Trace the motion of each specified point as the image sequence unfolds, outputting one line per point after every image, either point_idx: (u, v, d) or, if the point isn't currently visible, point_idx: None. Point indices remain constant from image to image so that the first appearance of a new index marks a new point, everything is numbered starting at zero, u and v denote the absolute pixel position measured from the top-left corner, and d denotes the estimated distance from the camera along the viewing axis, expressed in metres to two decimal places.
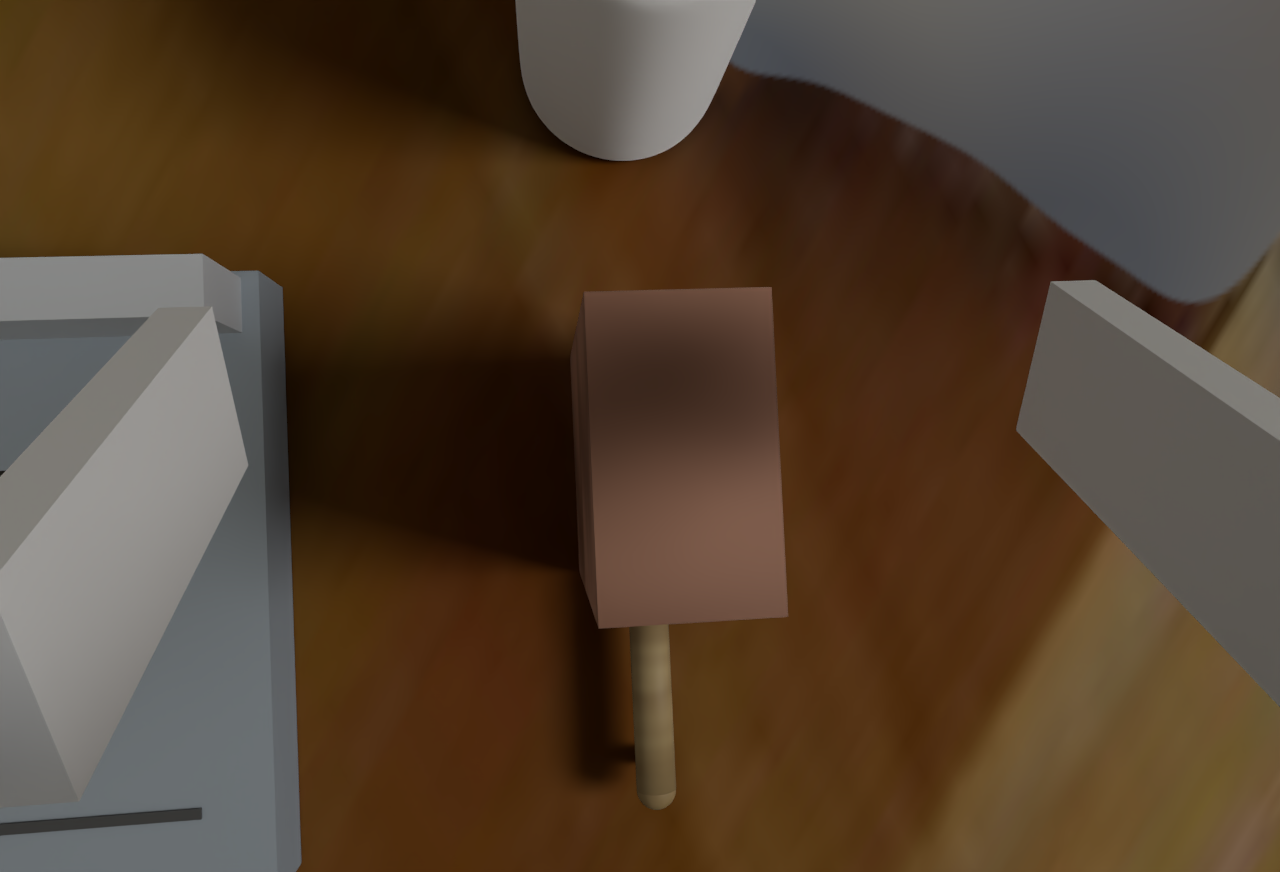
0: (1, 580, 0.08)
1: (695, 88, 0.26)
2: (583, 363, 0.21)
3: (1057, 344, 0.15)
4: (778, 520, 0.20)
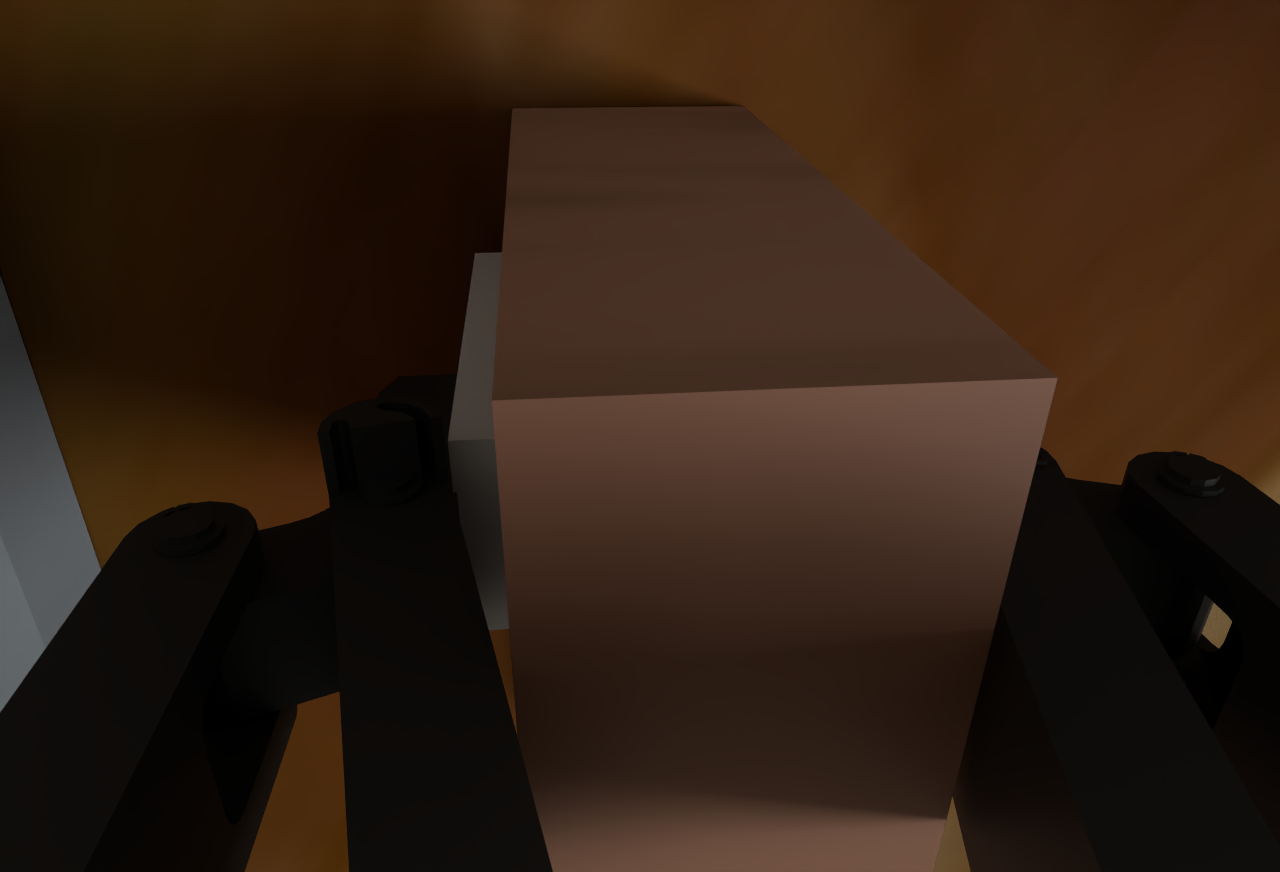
0: None
1: None
2: None
3: None
4: (930, 840, 0.09)
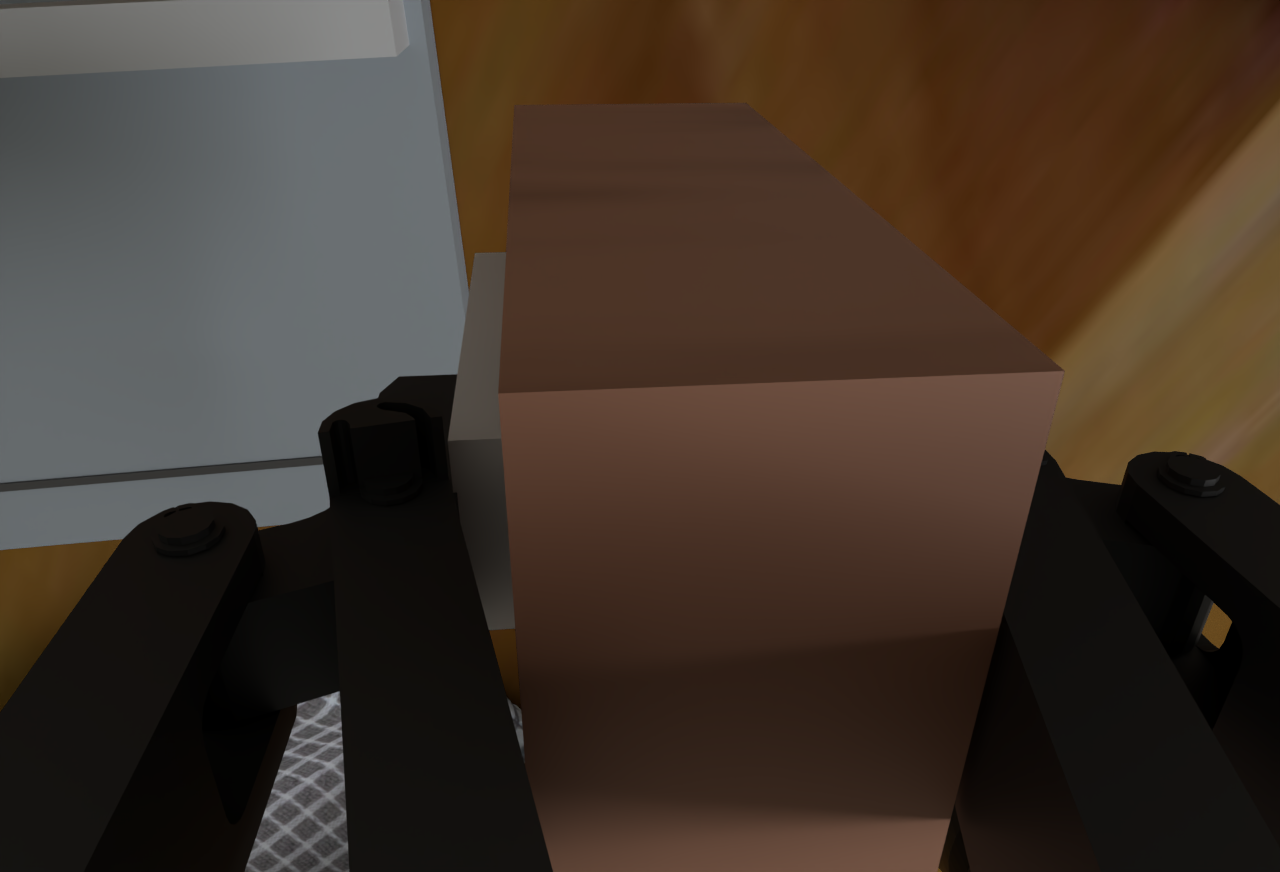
0: None
1: None
2: None
3: None
4: (936, 836, 0.09)
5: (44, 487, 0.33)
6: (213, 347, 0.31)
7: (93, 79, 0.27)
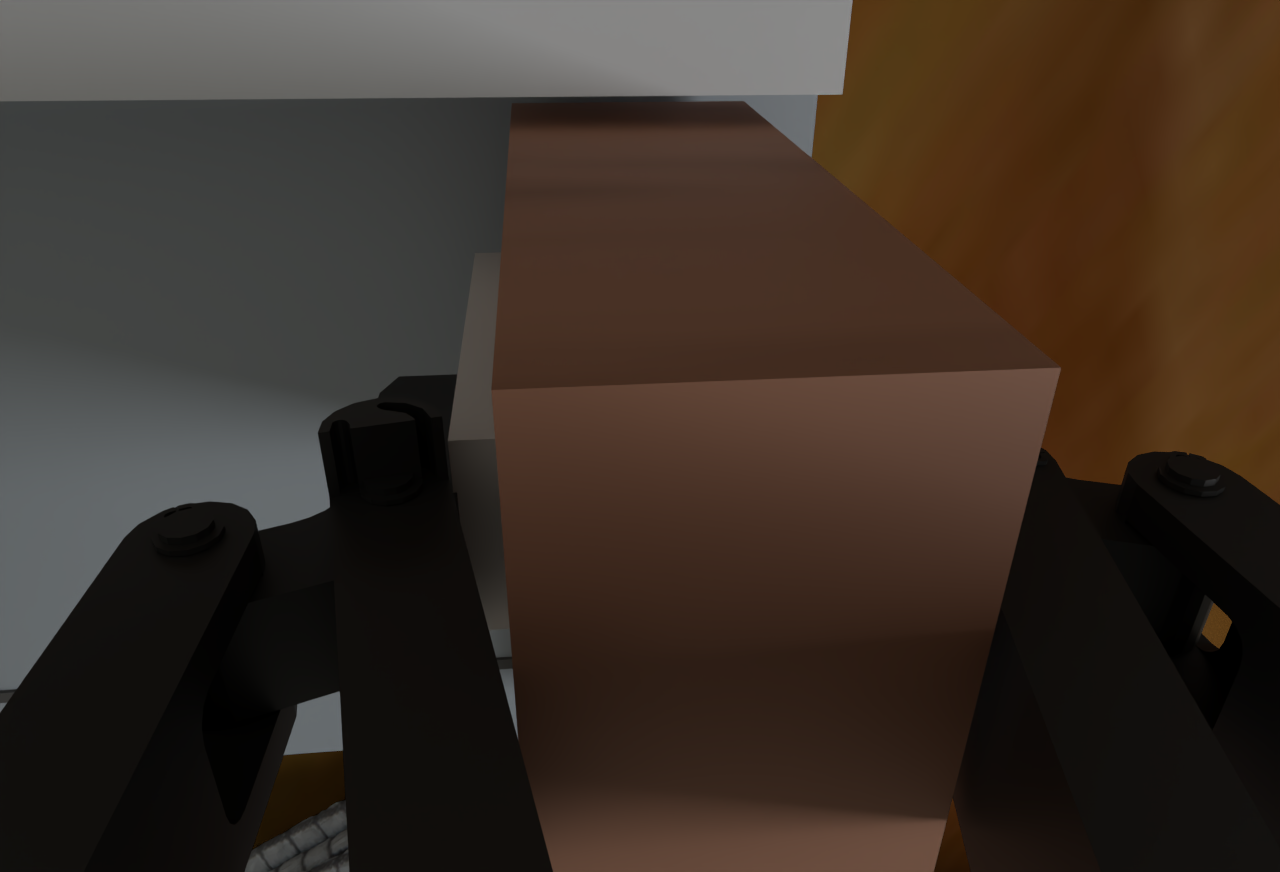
0: None
1: None
2: None
3: None
4: (933, 834, 0.09)
5: None
6: None
7: (273, 99, 0.16)
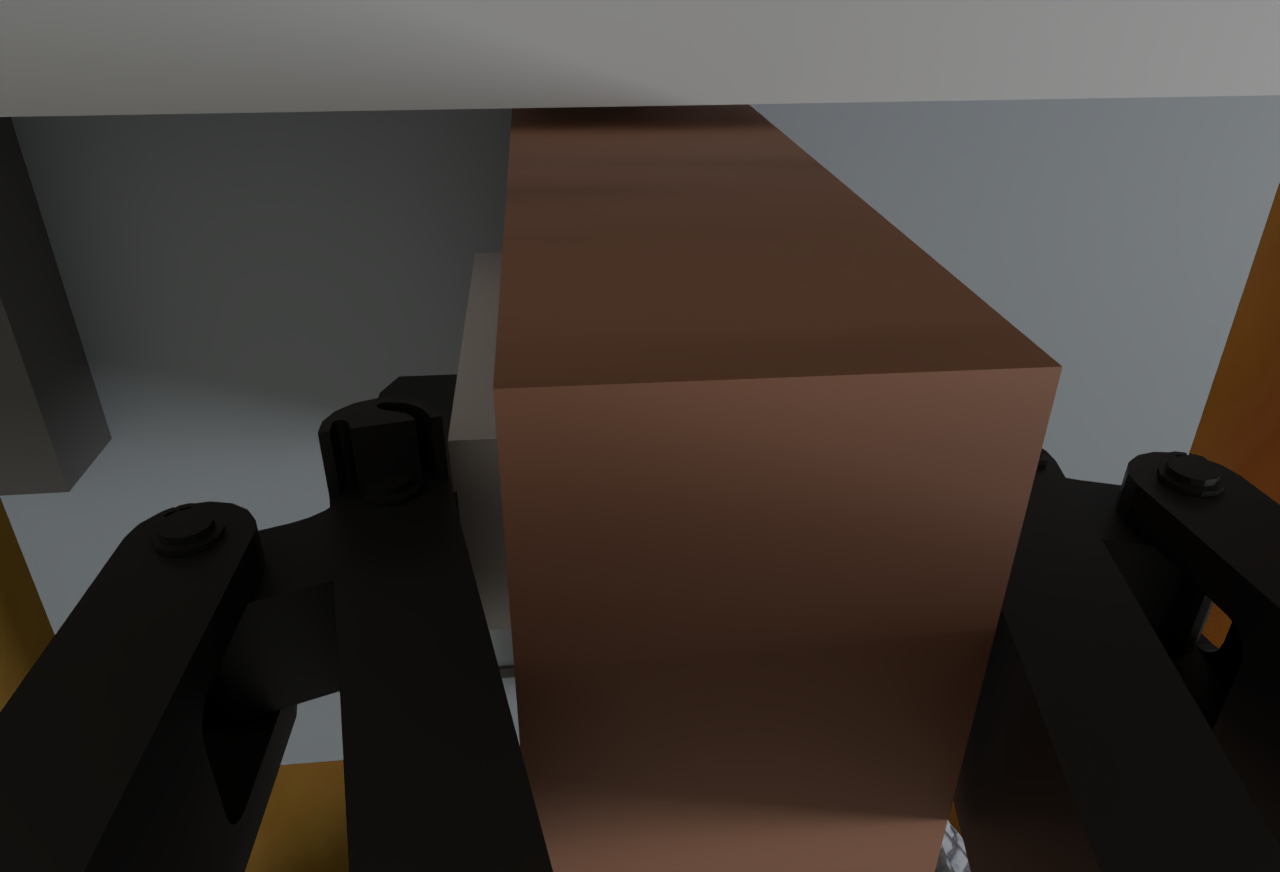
0: None
1: None
2: None
3: None
4: (934, 834, 0.09)
5: None
6: None
7: None
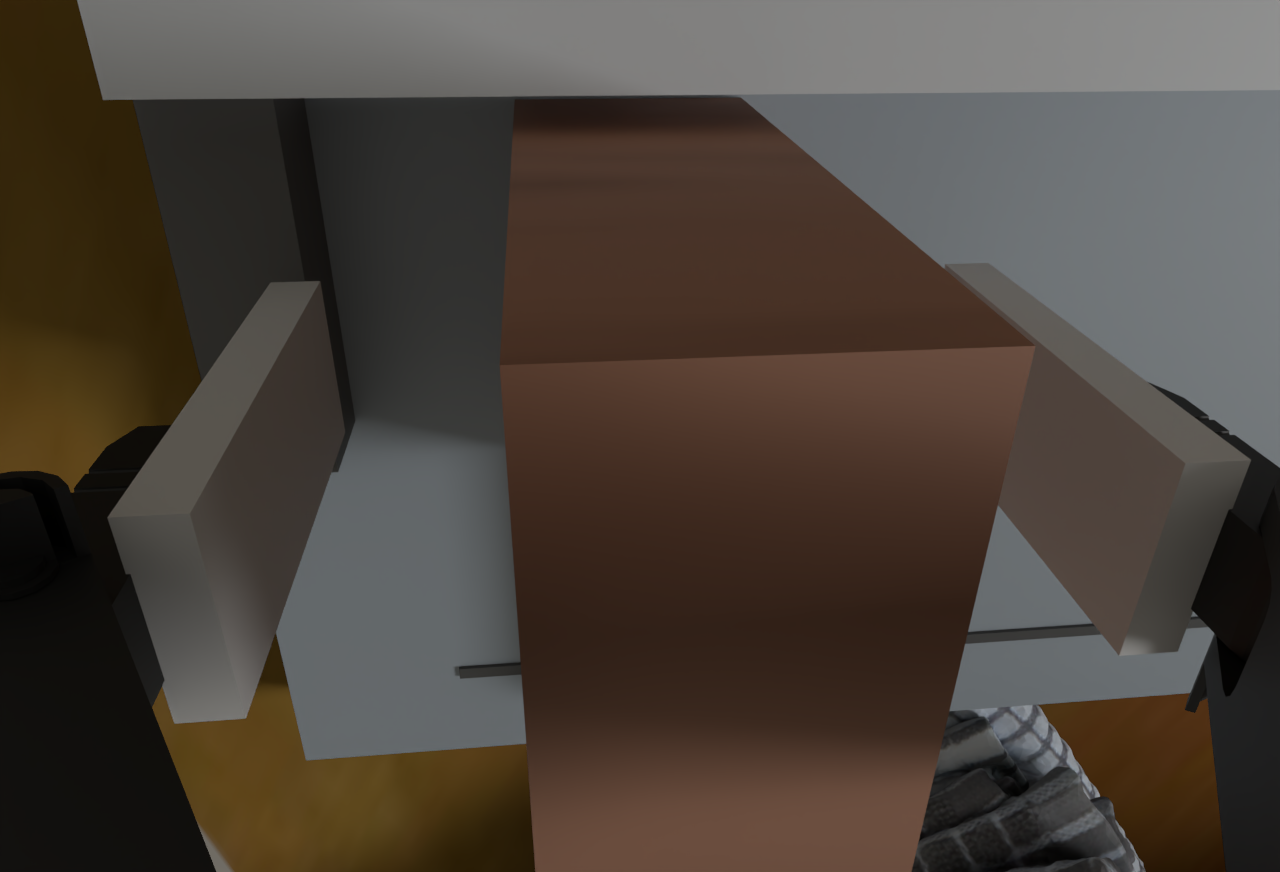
0: (196, 510, 0.09)
1: None
2: None
3: None
4: (919, 798, 0.09)
5: None
6: None
7: None
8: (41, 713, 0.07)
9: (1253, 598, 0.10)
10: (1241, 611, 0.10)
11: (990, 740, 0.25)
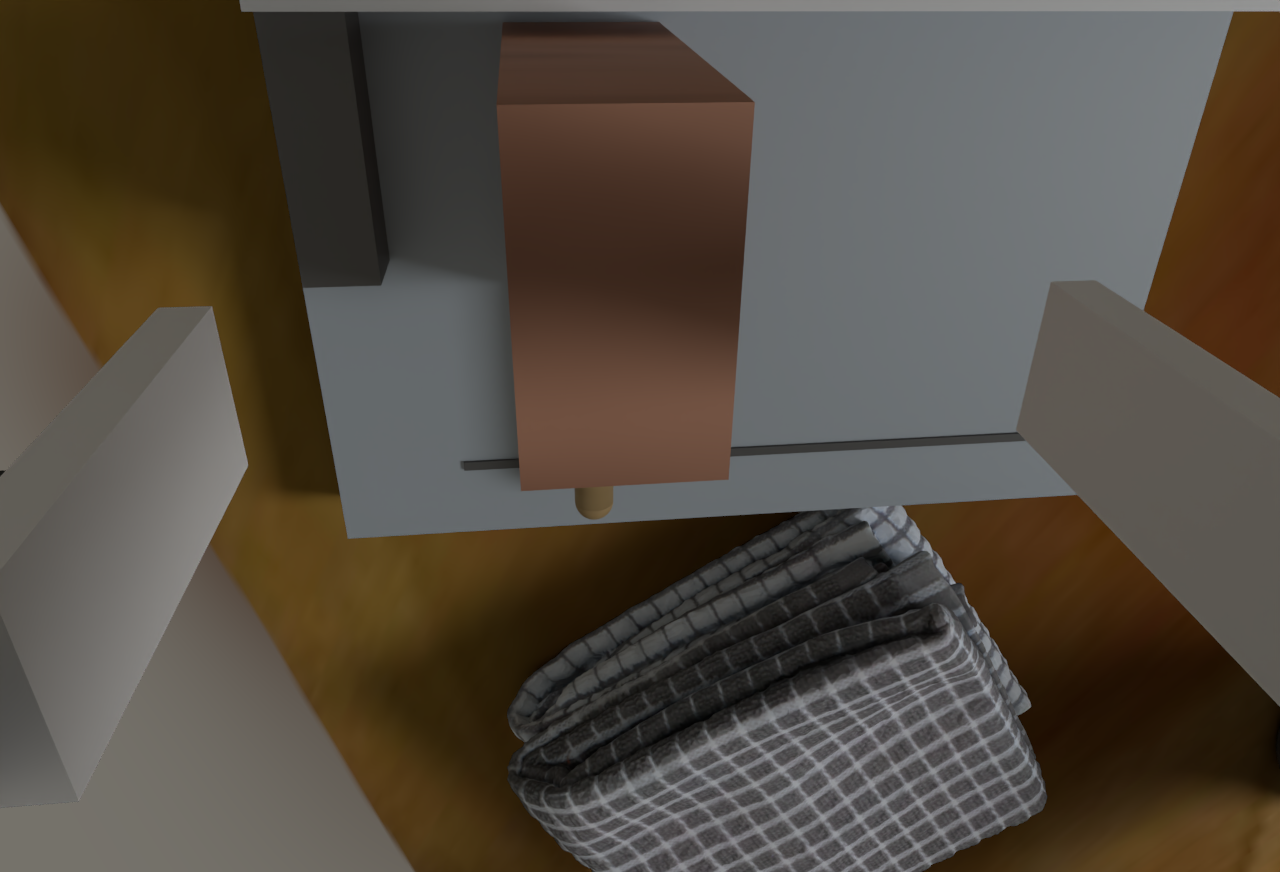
0: (0, 580, 0.08)
1: None
2: None
3: (1057, 344, 0.15)
4: (729, 386, 0.17)
5: None
6: (893, 316, 0.29)
7: (895, 19, 0.25)
8: None
9: None
10: None
11: (868, 535, 0.33)
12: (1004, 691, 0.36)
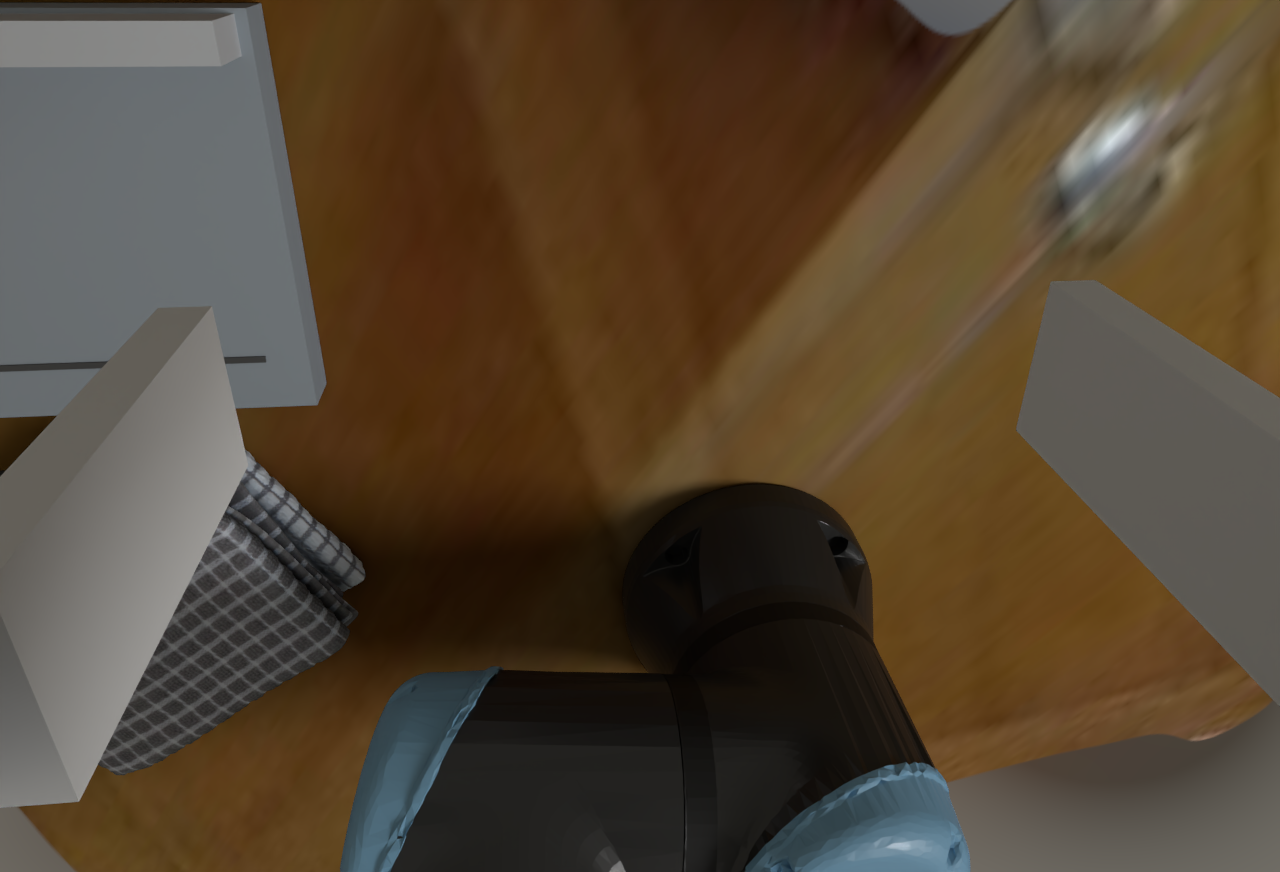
0: (1, 580, 0.08)
1: None
2: None
3: (1057, 344, 0.15)
4: None
5: None
6: (100, 270, 0.42)
7: (10, 69, 0.38)
8: None
9: None
10: None
11: None
12: (287, 555, 0.48)
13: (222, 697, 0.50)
